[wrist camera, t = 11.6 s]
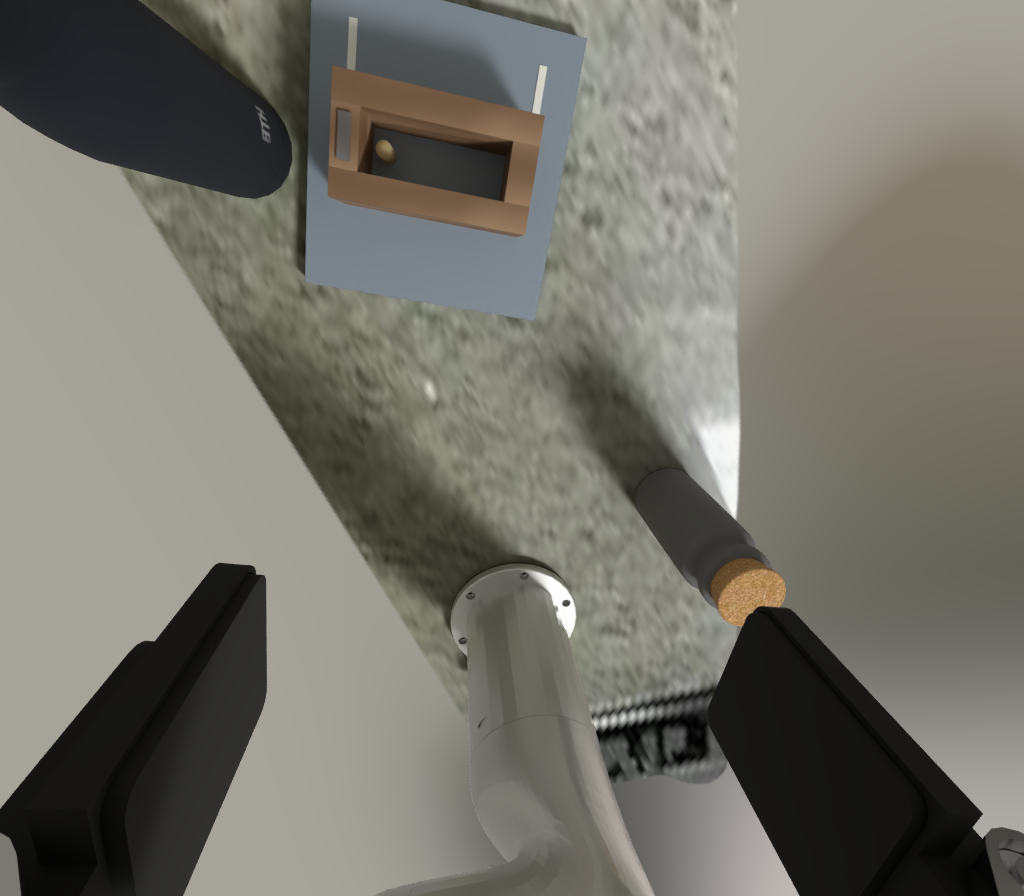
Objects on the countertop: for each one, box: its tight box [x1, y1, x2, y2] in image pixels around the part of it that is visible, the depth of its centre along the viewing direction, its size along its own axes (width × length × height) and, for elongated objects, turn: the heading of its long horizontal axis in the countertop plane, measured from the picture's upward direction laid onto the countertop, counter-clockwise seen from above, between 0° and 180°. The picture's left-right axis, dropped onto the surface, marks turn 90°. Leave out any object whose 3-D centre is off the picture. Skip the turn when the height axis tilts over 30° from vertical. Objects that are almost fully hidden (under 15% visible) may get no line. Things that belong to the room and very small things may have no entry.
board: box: [305, 0, 587, 321], centre depth 33 cm, size 18×17×4 cm
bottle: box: [635, 468, 786, 626], centre depth 39 cm, size 6×6×15 cm
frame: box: [328, 65, 545, 237], centre depth 31 cm, size 6×12×5 cm, turn 80°
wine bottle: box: [0, 0, 292, 199], centre depth 19 cm, size 6×6×30 cm
